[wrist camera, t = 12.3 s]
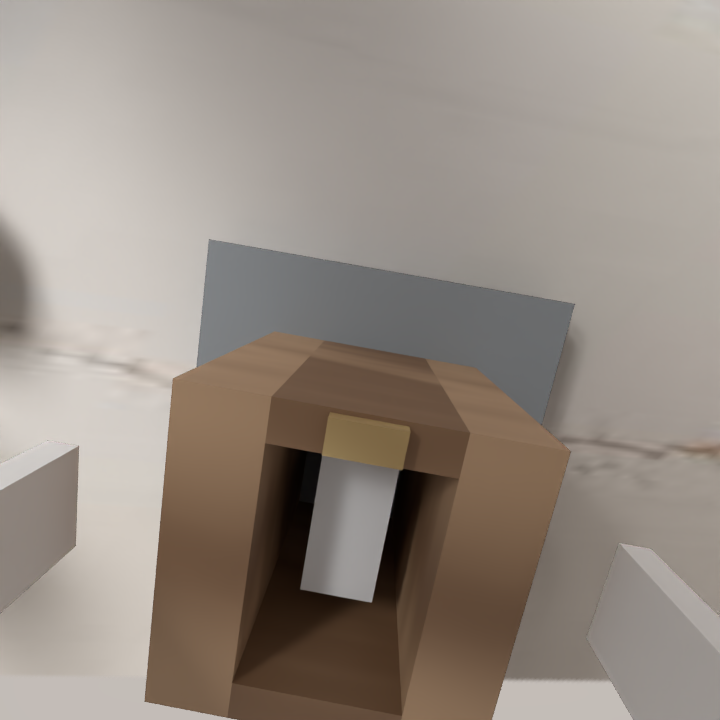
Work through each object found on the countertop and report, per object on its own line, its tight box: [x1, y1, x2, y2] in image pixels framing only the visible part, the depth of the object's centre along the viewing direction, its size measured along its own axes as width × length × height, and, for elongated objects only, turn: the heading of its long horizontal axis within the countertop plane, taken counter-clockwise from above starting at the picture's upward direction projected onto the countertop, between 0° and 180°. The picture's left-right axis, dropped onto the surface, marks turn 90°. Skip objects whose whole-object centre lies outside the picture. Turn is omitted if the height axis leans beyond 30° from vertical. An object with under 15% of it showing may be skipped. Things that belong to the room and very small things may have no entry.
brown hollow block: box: [145, 332, 571, 720], centre depth 13 cm, size 8×8×8 cm
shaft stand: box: [197, 239, 575, 603], centre depth 15 cm, size 14×14×8 cm
